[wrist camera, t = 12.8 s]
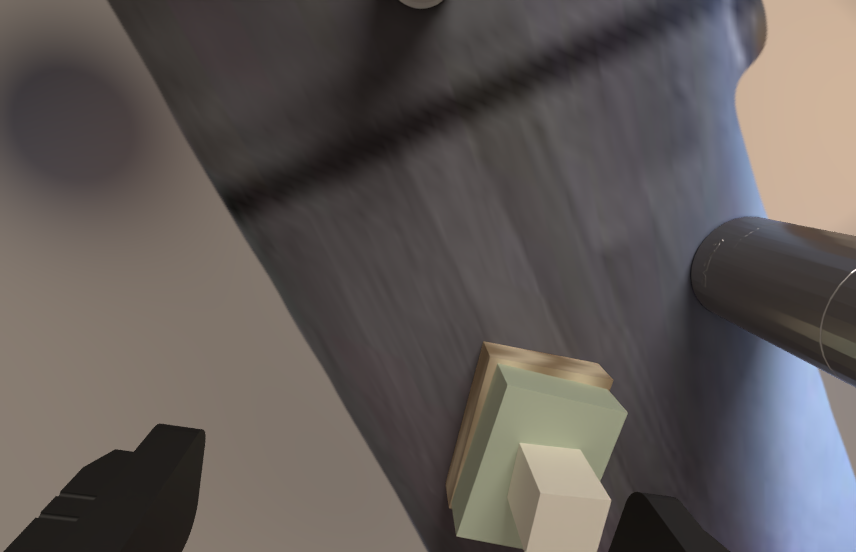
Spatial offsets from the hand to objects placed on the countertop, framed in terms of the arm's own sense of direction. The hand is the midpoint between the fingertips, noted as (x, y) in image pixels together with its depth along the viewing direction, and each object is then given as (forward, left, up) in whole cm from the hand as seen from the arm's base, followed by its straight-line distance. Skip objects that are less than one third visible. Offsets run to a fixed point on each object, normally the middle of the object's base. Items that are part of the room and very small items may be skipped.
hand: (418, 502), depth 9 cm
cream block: (-15, +16, -27) cm, 34 cm away
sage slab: (-15, +16, -31) cm, 38 cm away
